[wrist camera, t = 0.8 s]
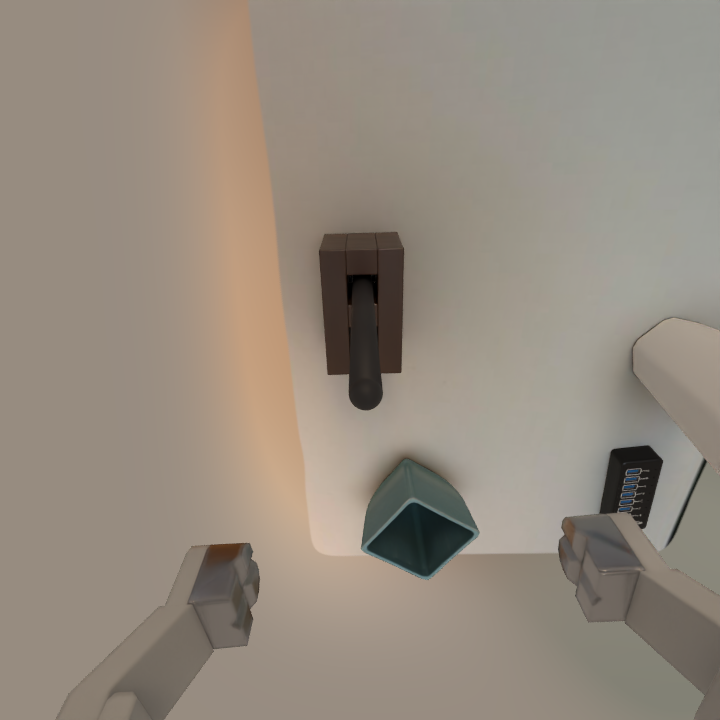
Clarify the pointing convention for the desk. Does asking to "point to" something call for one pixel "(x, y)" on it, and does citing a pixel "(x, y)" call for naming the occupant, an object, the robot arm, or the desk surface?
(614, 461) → the multiport hub
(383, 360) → the pen stand
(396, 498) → the flower pot
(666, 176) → the desk surface
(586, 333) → the desk surface
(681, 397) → the cup
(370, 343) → the stylus
